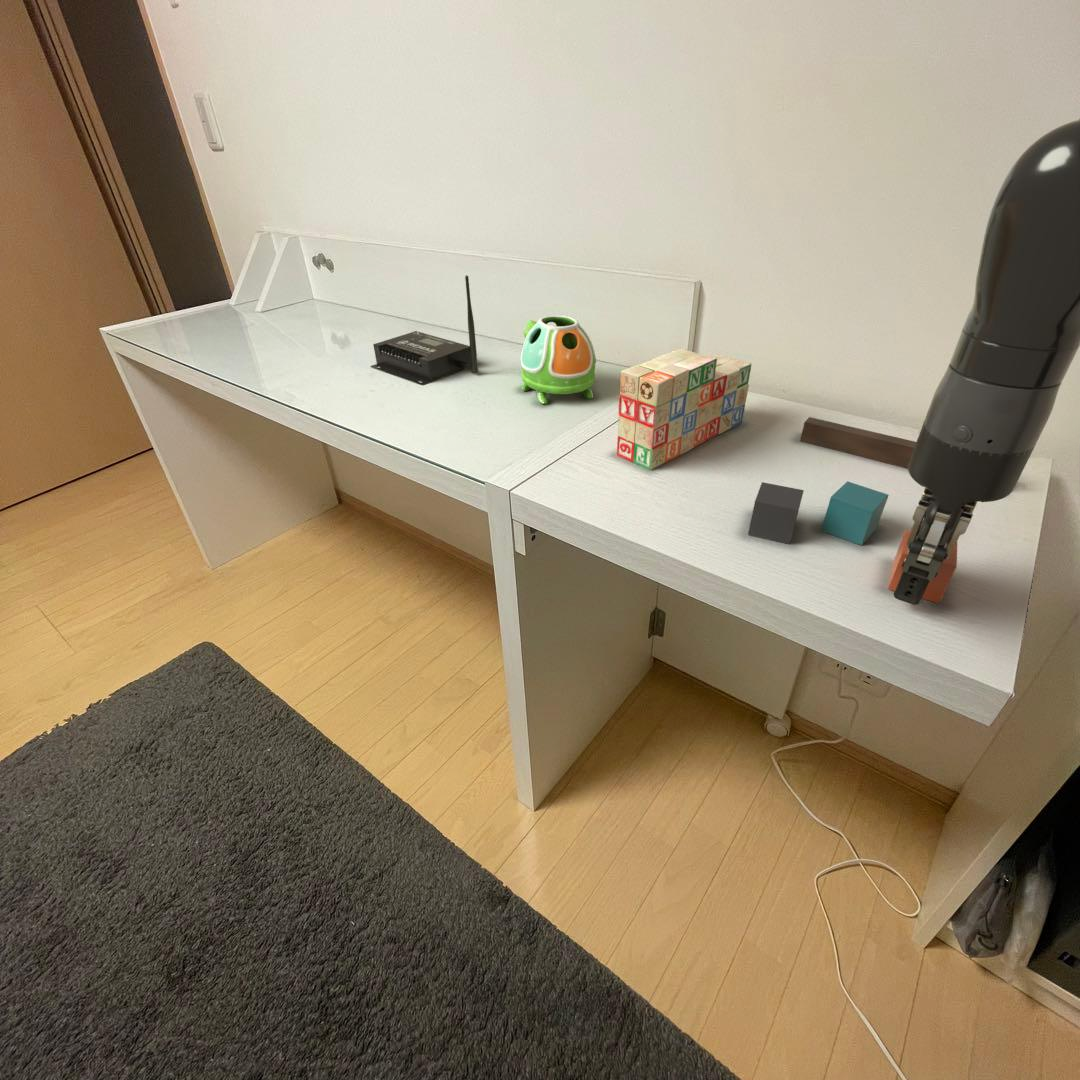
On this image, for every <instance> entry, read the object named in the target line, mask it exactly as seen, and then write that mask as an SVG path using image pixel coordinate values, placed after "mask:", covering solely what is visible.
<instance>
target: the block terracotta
mask: <svg viewBox="0 0 1080 1080" xmlns="http://www.w3.org/2000/svg"><path fill="white" fill-rule="evenodd" d="M910 532H911V530H909V529H905V531H904V533H903V535H902V538H901V541H900V543H899V546H898V548H897V551H896V553H895V556H894V559H893V561H892V564H891V569H890V575H889V579H888V586H887V589H888V590H890V591H893V592H895V590H896V587H897V585H898V582H899V580H900V578H901V575H902V573H903V571H902V568H903V567H901V566H902V563H903V561H904V559H905V557H906V558H907V555H908V554H907V553H908V550H909V548H907V546H906V542H907V539H908V537H909V534H910ZM957 567H958V542H957V543H956V545H955V547H954V549H953V551H952V553H951V556H950V557H949V558H948V559H946V560H945V559H944V560H943V562H942V564H941V566H940V568H939V570H938V574H937V576H936V578H935V577H934V579H933V580H932V581H929V584H928V586H927V588H926V590H925V592H924V595H923V597H922V599H921V600H926V601H929V602H933V603H937V604H940V603H941V602H942V599H943V597H944V595H945V592H946V590H947V588H948V587H949V584H950V582H951V580H952V578H953V575H954V573H955V571H956V569H957Z"/></svg>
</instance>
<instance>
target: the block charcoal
mask: <svg viewBox="0 0 1080 1080" xmlns="http://www.w3.org/2000/svg"><path fill="white" fill-rule="evenodd" d="M804 492H805V490H804V489H799V488H794V487H789V486H786V485H785V486H783V485H779V484H774V483H769V482H763V481H762V482H761V484H760V486H759V489H758V491H757V494H756V497H755V500H754V503H753V508H752V512H751V513H752V514H751V518H750V523H749V526H748V527H749V528H748V532H747V535H748V536H751V537H756V538H760V539H764V540H767V541H768V540H769V541H773V542H778V543H782V544H787V545H791V541H792V538H793V533H794V530H795V526H796V522H797V518H798V514H799V510H800V507H801V502H802V499H803V495H804Z"/></svg>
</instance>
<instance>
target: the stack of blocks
mask: <svg viewBox="0 0 1080 1080" xmlns="http://www.w3.org/2000/svg"><path fill="white" fill-rule="evenodd" d="M751 369H752V363H751V362H748V361H744V360H740V359H736V358H733V357H728V356H724V355H721V354H717V353H715V354H713V355H711V356H710V355H707V354H703V353H698V352H695V351H691V350H688V349H684V348H677V349H675V350H673V351H670V352H667V353H665V354H663V355H660V356H657V357H655V358H653V359H650V360H647V361H645V362H642V363H640V364H637V365H634V366H631V367H629V368H626V369H622V370H621V372H620V388H619V389H620V390H619V391H620V393H619V397H618V425H617V426H618V427H617V431H618V432H617V441H616V455H617V456H618V457H620V458H622V459H625V460H626V461H629V462H630V463H634V464H636V465H638V466H640V467H642V468H645V469H647V470H648V471H651V470H654V469H655V468H657V467H659V466H661V465H664V464H665V463H668V462H669V461H671V460H673V459H675V458H677V457H679V456H681V455H684V454H685V453H687V452H689V451H691V450H692V449H693V448H695V447H697V446H699V445H701V444H703V443H705V442H706V441H709V440H710V439H712V438H714V437H716V436H718V435H720V434H722V433H724V432H727V431H728V430H730V429H732V428H734V427H736V426H738V425H740V424H742V423H743V419H744V413H745V408H746V402H747V397H748V392H749V386H750V384H749V382H750V375H751V371H752V370H751Z"/></svg>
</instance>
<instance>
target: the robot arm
mask: <svg viewBox="0 0 1080 1080" xmlns="http://www.w3.org/2000/svg"><path fill="white" fill-rule="evenodd" d="M959 334H960V335H959V337H958V340H957V343H956V345H955V348H954V351H953V354H952V356H951V358H950V361H949V364H948V365H947V368H946V371H945V372H944V374H943V376H942V377H941V380H940V382H939V383H938V385H937V387H936V389H935V392H934V394H933V397H932V399H931V402H930V404H929V407H928V410H927V411H926V415H925V418H924V420H923V423H922V426H921V428H920V431H919V434H918V437H917V438H916V439H917V440H916V441H915V442H916V445H915V448H914V450H913V453H912V456H911V458H910V461H909V464H908V468H907V471H908V474H909V475H910V477H911V478H912V480H914V482H916V483H917V484H918V485H919V486H921V487H923V488H924V490H923V493H922V494H921V498H920V499H919V501H918V503H917V505H916V508H915V510H914V512H913V515H912V521H913V524H912V527H911V530H910V531H911V532H910V534H909V537H908V539H907V542H906V546H907V548H909V550H908V553H907V554H908V555H907V558H906V557H905V559H904V561H903V563H902V566H901V567H903V568H902V571H903V573H902V575H901V578H900V580H899V582H898V585H897V587H896V590H895V591H893V597H894V598H895V599H896V600H898V601H901V602H904V603H907V604H910V605H911V606H912V605H913V606H916V605H917V606H918V605H919V604H921V601H922V600H923V599H922V597H923V595H924V592H925V590H926V588H927V586H928V584H929V581H932V580H933V579H934V577H935V578H936V576H937V574H938V570H939V568H940V566H941V564H942V562H943V560H944V559H945V560H946V559H948V558H949V557H950V556H951V553H952V551H953V549H954V547H955V545H956V543H957V544H958V541H959V538H960V537H961V536H962V535H964V534H965V533H966V531H967V529H968V527H969V526H970V523H971V521H972V518H973V516H974V511H975V509H976V507H977V503H978V502H981V503H990V502H991V503H992V502H995V501H999V500H1002V499H1005V498H1007V497H1008V496H1010V494H1012V493H1013V491H1014V490H1015V487H1016V485H1017V484H1018V482H1019V479H1020V477H1021V475H1022V473H1023V471H1024V469H1025V468H1026V465H1027V463H1028V461H1029V459H1030V457H1031V455H1032V453H1033V451H1034V449H1035V448H1036V445H1037V442H1038V441H1039V439H1040V437H1041V434H1042V433H1043V431H1044V429H1045V427H1046V425H1047V423H1048V420H1049V418H1050V417H1051V414H1052V412H1053V410H1054V405H1055V404H1056V399H1057V396H1058V393H1059V390H1060V387H1061V385H1062V383H1063V381H1064V379H1065V377H1066V375H1067V372H1068V371H1069V368H1070V367H1071V364H1072V363H1073V360H1074V358H1075V356H1076V354H1077V352H1078V350H1079V348H1080V118H1078V119H1077V120H1073V121H1069V122H1067V123H1065V124H1062V125H1059V126H1057V127H1055V128H1054V129H1051V130H1050V131H1048V132H1047V133H1045V134H1043V135H1042V136H1041V137H1039V138H1038V139H1037V140H1035V141H1034V142H1033V143H1032V144H1031V145H1030V146H1029V147H1027V148H1026V150H1024V151H1023V153H1021V155H1020V156H1019V157H1018V158H1017V159H1016V161H1015V162H1014V164H1013V165H1012V166H1011V168H1010V169H1009V171H1008V173H1007V175H1006V176H1005V178H1004V179H1003V182H1002V184H1001V186H1000V188H999V190H998V192H997V194H996V196H995V198H994V202H993V205H992V207H991V210H990V213H989V216H988V219H987V224H986V227H985V232H984V236H983V240H982V246H981V251H980V257H979V262H978V267H977V272H976V278H975V288H974V296H973V301H972V306H971V308H970V310H969V313H968V315H967V316H966V319H965V321H964V324H963V327H962V328H961V331H960V333H959Z"/></svg>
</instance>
